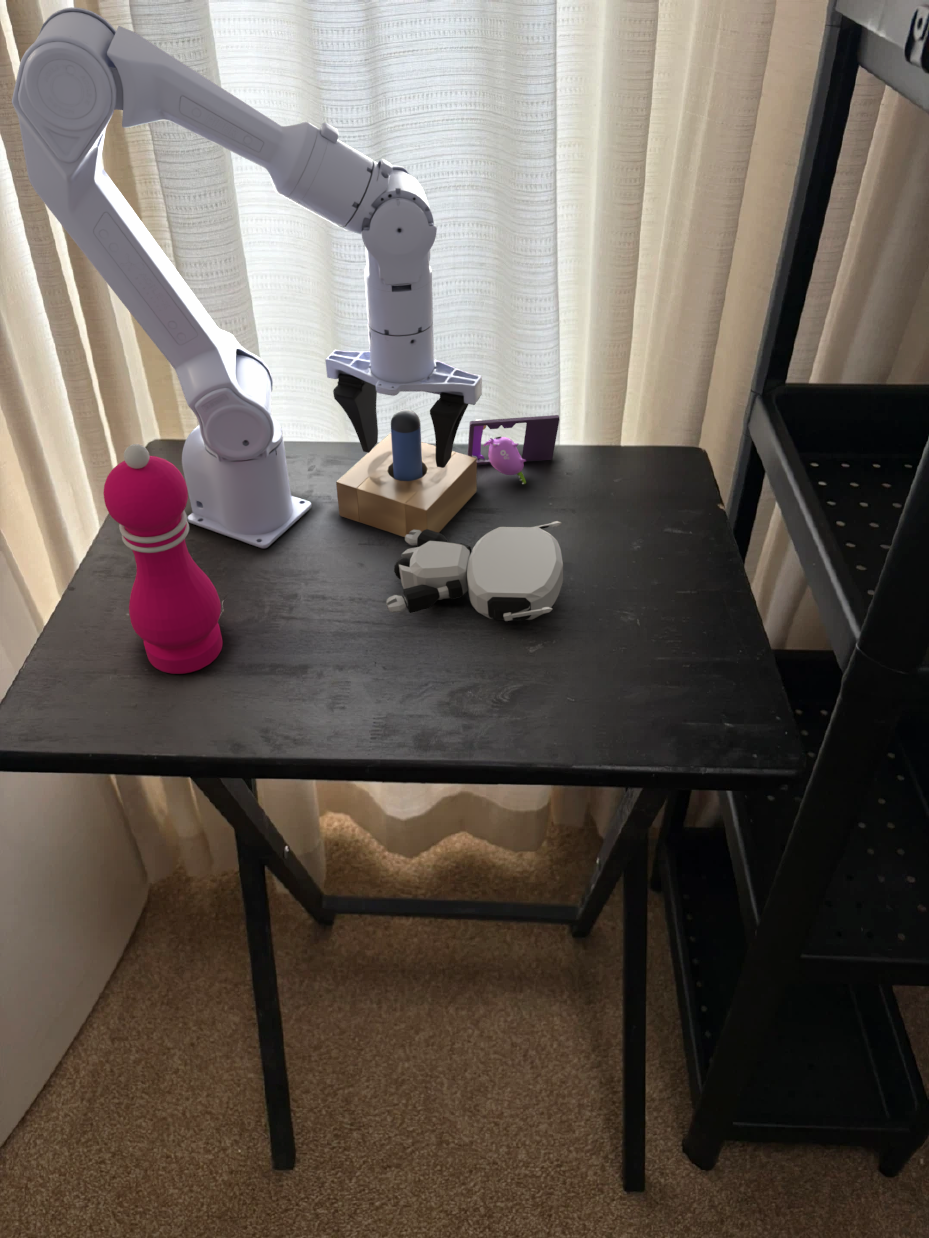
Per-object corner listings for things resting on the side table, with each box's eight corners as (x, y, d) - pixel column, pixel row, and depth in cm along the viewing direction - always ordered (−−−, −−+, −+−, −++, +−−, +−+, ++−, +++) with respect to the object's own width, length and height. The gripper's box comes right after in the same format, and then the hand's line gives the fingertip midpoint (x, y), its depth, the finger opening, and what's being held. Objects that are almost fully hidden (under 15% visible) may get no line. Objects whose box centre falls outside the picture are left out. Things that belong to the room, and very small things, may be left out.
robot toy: (385, 638, 89) (559, 644, 87) (378, 598, 86) (558, 603, 84) (409, 551, 98) (567, 554, 96) (403, 512, 95) (567, 515, 93)
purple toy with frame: (558, 409, 103) (468, 415, 102) (566, 450, 101) (475, 457, 100) (550, 451, 109) (466, 457, 108) (558, 491, 107) (472, 497, 106)
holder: (339, 515, 101) (335, 481, 98) (392, 465, 108) (390, 432, 105) (427, 545, 98) (426, 510, 95) (476, 491, 104) (477, 457, 102)
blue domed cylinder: (390, 507, 102) (384, 415, 95) (402, 492, 104) (397, 401, 97) (416, 513, 101) (412, 421, 94) (427, 498, 103) (424, 406, 96)
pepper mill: (228, 615, 90) (186, 415, 77) (229, 673, 85) (184, 468, 72) (144, 625, 89) (86, 424, 76) (139, 684, 84) (76, 479, 71)
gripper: (304, 328, 89) (319, 461, 98) (462, 355, 85) (463, 491, 94) (340, 294, 94) (351, 425, 103) (490, 319, 90) (488, 452, 99)
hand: (406, 454), depth 99 cm, fingers open, 7 cm apart
